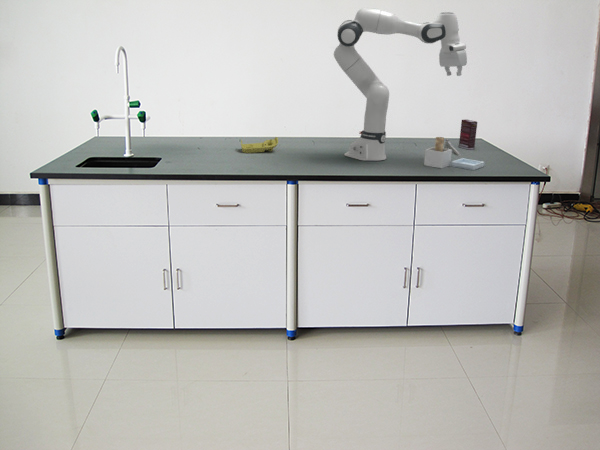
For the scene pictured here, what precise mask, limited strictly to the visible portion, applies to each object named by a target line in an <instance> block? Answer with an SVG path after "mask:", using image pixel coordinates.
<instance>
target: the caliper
mask: <svg viewBox="0 0 600 450" xmlns="http://www.w3.org/2000/svg"><path fill="white" fill-rule="evenodd" d="M449 140H450V139H449V138H446V139H445V140H444V146H443V148H445V149H451V150H452V153H454V154H455V155H456V156H458V157H462V155H461V153H460V151H458V150H457V149H456V148H455V147H454V146H453V144H452V143H451V141H449Z"/></svg>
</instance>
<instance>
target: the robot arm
mask: <svg viewBox="0 0 600 450" xmlns="http://www.w3.org/2000/svg"><path fill="white" fill-rule="evenodd" d="M355 14H356V15H355V17H354V19H353V20H352V19H351V20H350V19H348V20H344V21H343V22H341V24H340V25H339V27H338V29H337V39H338V40H337V41H338V42H339V45H337V46H336V48H335V50H334V52H333V57H334V59H335V61H336V63H337V64H338V66H339V67H340V69H341V70H342V71H343V72H344V74H346V76H347V77H348V78H349V79H350V81H351V82H352V83H353V84H354V85H355V87H356V88H357V89H358V90H359V91H360V93H362V95H363V96H364V97H365V98H366V104H365V112H364V117H363V118H364V120H363V121H364V122H363V130H362V131H359V132H358V133H359V136H360V137H358V138H357V139H356V140H354V141H352V142H351V143H350V144H349V148H348V151H347V152H345V153H344V156H345V157H349V158H352V159H356V160H360V161H364V162H365V161H378V162H379V161H384V160H387V155H386V149H385V148H386V146H385V145H386V144H385V142H386V136H387V133H386V123H387V112H388V107H389V100H390V90H389V88H388V87H387V86H386V85H385V84H384V83H383V82H382V81H381V80H380V78H379V77H378V76H377V75H376V73H375V72H374V70H373V69H372V68H371V67H370V66H369V64H368V63H367V62H366V61H365V60H364V58H363V57H362V56H361V55H360V53H358V51H357V49H356V48H355V45H356V44H357V43H358V41H359V40H360V38H361V36H362V35H363V33H366V32H369V33H372V34H378V35H393V34H394V35H395V34H402V35H406V36H410V37H414V38H417V39H419V40H420V41H421V42H422V43H424V44H434V43H436V42H438V41H440V44H441V45H440V46H441V48H440V50H439V54H438V56H439V58H438V59H439V60H438V61H439V65H440V67H441V68H442V67H443V68H444V71H445V72H446V77H447V76H449V77H450V76H452V72H451V68H450V67H456V69H457V70H456V76H457V77H460V76H462V70H463V66H466V65H467V64H468V57H467V51H466V48H467V45H466V44H465V43H463V41H461V38H460V35H459V30H460V29H459V22H458V21H459V20H458V18H457V15H456V13H454V12H451V11H450V12H449V11H448V12H447V11H446V12H440V13H439V14H438V15H437V16H436V17H435V18H433V19H432V20H430V21H428V22H423V23H416V22H413V21H408V20H404V19H402V18H399V17H398V16H397V15H396V14H394V13H392V12H390V11H388V10H385V9H379V8H372V7H371V8H370V7H361V8H359V10H357V12H356V13H355Z"/></svg>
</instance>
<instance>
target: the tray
mask: <svg viewBox="0 0 600 450" xmlns="http://www.w3.org/2000/svg"><path fill="white" fill-rule="evenodd" d="M450 167H454V168H459V169H462V170H468V171H475V170H479V169H482V168H483V167H485V161H482V160H481V161H480V160H475V159H471V158H470V159H469V158H464V157H461V158H459V159H455V160H451V164H450Z"/></svg>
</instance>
